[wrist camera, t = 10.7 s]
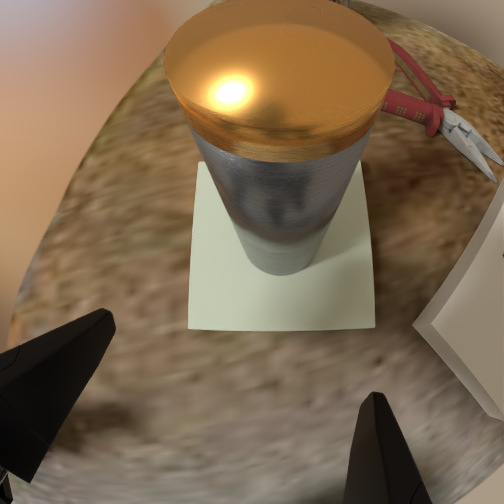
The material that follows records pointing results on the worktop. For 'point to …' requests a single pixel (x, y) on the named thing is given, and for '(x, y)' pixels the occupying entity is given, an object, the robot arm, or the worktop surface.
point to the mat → (280, 287)
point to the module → (280, 114)
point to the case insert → (473, 313)
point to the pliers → (436, 113)
